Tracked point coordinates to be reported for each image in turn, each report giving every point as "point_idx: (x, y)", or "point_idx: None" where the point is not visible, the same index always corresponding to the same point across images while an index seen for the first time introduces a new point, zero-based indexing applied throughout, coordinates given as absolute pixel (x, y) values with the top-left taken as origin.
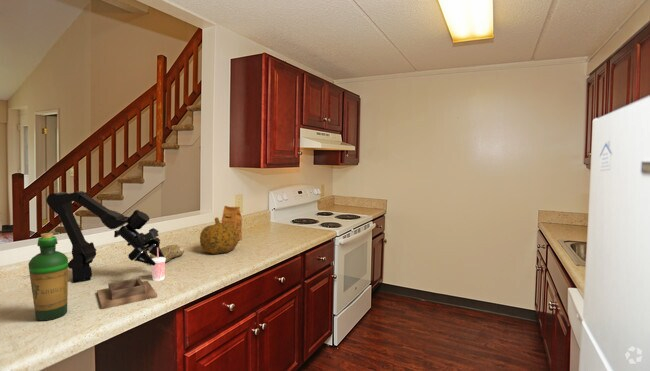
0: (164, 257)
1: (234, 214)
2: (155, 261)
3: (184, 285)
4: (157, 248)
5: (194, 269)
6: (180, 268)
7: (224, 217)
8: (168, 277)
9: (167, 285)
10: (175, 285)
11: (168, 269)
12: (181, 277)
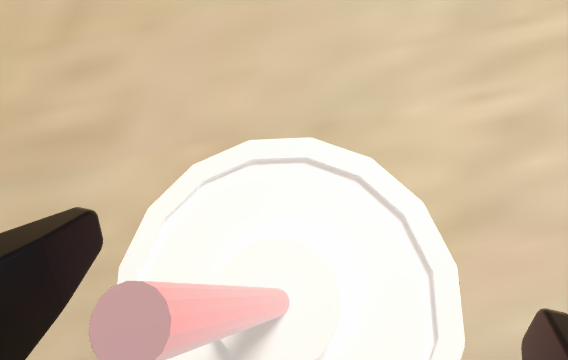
0: (180, 179)
1: None
2: (459, 333)
3: (560, 7)
4: (195, 327)
5: (106, 14)
6: (29, 139)
7: None
8: None
9: (545, 162)
10: (552, 86)
11: None
12: (311, 78)
